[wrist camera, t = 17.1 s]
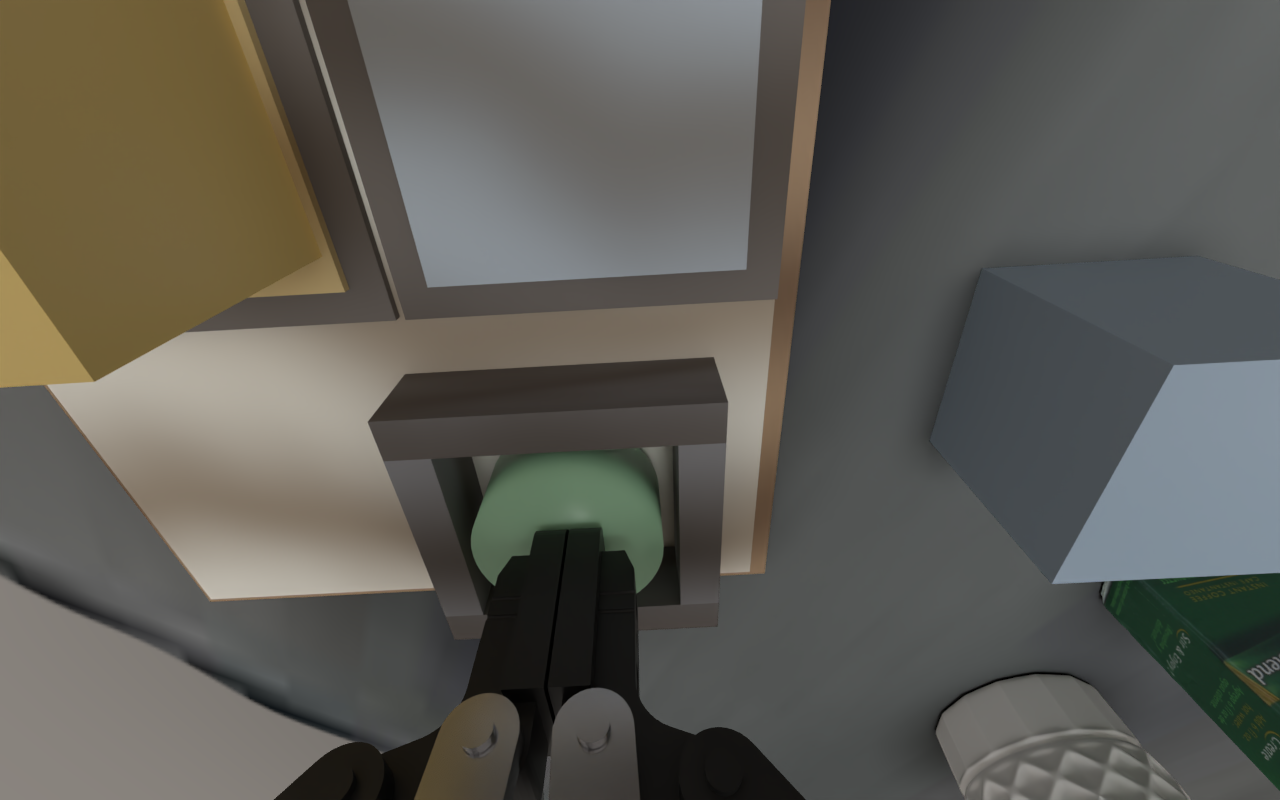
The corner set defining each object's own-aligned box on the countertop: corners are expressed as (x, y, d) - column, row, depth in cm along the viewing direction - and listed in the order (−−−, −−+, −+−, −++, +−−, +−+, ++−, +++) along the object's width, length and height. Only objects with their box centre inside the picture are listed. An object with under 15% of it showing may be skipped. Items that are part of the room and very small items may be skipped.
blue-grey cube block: (979, 266, 12) (1174, 365, 8) (1194, 254, 12) (1510, 346, 8) (927, 439, 15) (1051, 583, 10) (1103, 430, 14) (1301, 571, 10)
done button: (474, 428, 12) (449, 483, 11) (656, 418, 12) (660, 471, 11) (508, 553, 15) (492, 616, 13) (661, 546, 15) (666, 607, 13)
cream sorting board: (-527, -438, 7) (-1267, -776, 4) (877, -537, 6) (1044, -955, 4) (223, 586, 17) (151, 674, 14) (760, 558, 17) (784, 642, 14)
